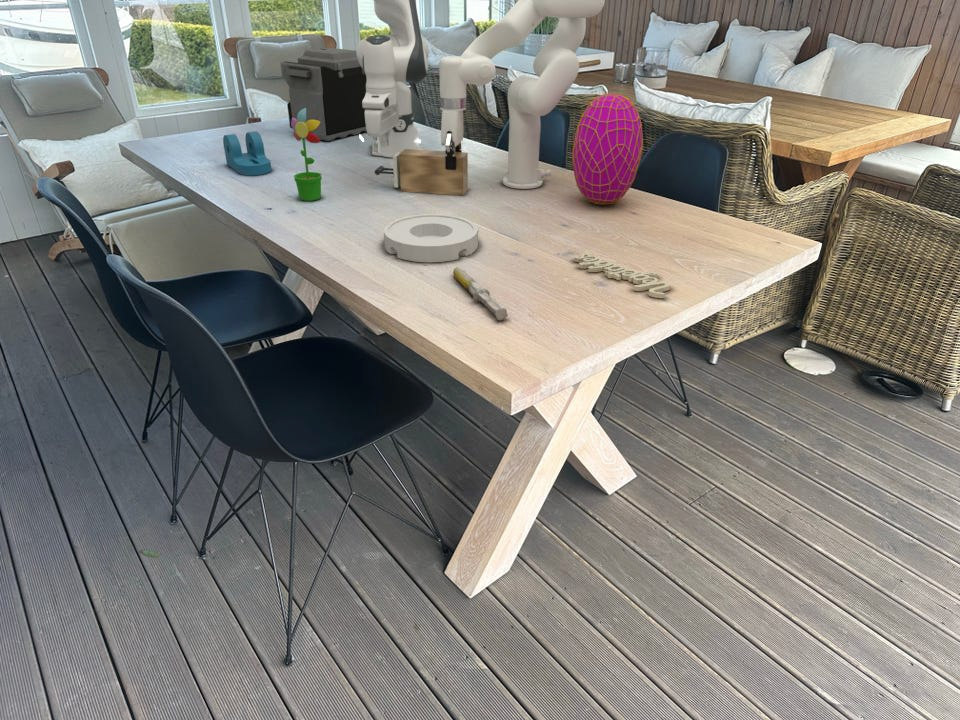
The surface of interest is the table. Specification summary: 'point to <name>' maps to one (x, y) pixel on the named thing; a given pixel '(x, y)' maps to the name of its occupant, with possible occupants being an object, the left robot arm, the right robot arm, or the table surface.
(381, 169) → the drawer
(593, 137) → the decorative egg
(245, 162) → the camera mount
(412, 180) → the tan elongated box
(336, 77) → the electronic device
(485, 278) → the table surface
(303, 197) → the potted flower
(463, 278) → the syringe
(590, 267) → the decorative sign
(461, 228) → the ashtray
